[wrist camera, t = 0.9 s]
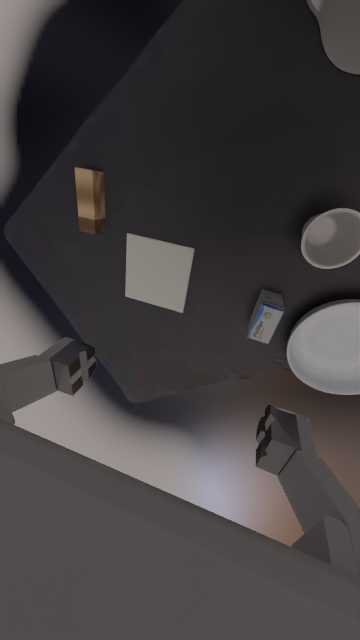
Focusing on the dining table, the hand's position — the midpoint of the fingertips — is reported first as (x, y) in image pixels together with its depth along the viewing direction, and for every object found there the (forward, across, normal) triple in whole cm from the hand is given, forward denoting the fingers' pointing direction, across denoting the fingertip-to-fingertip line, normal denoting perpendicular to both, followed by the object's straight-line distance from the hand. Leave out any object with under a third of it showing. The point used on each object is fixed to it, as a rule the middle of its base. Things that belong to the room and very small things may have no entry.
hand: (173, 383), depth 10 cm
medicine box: (+42, -9, +13) cm, 45 cm away
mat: (+42, +17, +12) cm, 47 cm away
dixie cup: (+42, -13, -4) cm, 44 cm away
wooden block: (+42, +33, -1) cm, 54 cm away
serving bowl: (+42, -25, +16) cm, 52 cm away
